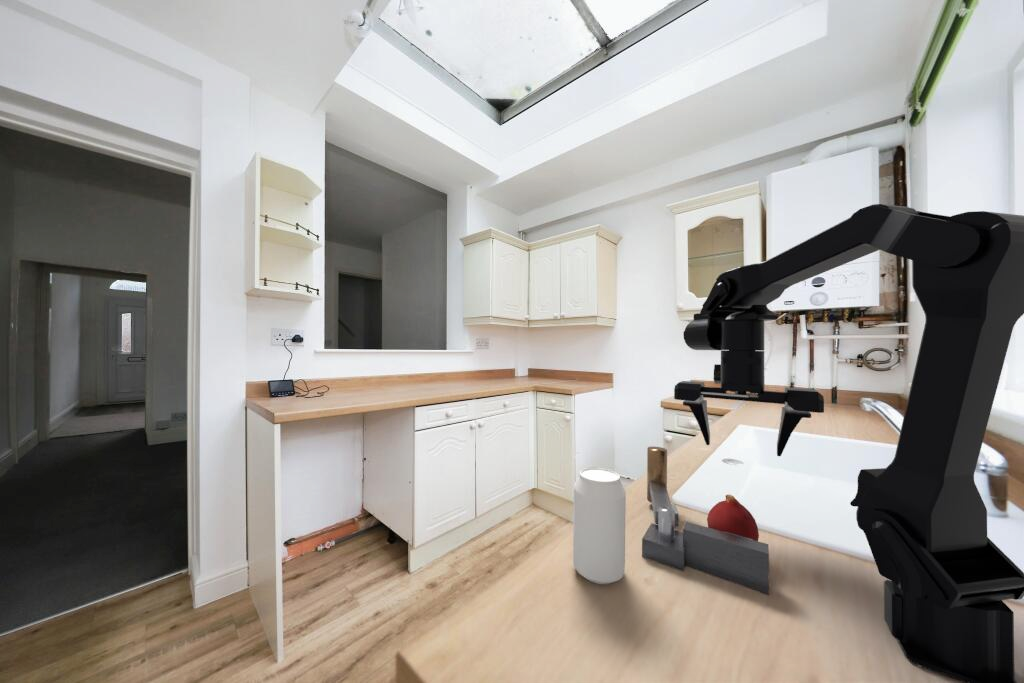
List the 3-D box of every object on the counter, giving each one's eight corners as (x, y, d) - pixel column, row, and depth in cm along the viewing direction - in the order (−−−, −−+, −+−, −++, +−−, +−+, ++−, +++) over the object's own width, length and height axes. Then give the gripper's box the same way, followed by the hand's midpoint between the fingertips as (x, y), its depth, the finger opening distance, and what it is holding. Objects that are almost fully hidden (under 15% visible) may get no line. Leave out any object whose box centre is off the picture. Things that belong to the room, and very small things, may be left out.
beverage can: (575, 553, 46) (576, 463, 46) (623, 561, 44) (624, 468, 44) (570, 583, 40) (571, 480, 40) (626, 594, 38) (627, 486, 38)
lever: (678, 540, 47) (679, 475, 48) (652, 536, 48) (652, 472, 49) (666, 498, 61) (667, 447, 61) (646, 495, 62) (646, 445, 62)
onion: (742, 544, 49) (742, 487, 49) (769, 570, 43) (769, 506, 43) (699, 541, 49) (700, 485, 49) (720, 566, 43) (720, 503, 44)
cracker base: (767, 577, 41) (768, 527, 42) (769, 602, 37) (769, 546, 38) (651, 539, 49) (651, 498, 49) (642, 556, 45) (642, 511, 45)
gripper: (813, 351, 55) (813, 449, 55) (685, 350, 66) (684, 431, 66) (824, 351, 46) (824, 468, 46) (673, 349, 57) (673, 443, 57)
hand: (741, 449), depth 54 cm, fingers open, 9 cm apart
